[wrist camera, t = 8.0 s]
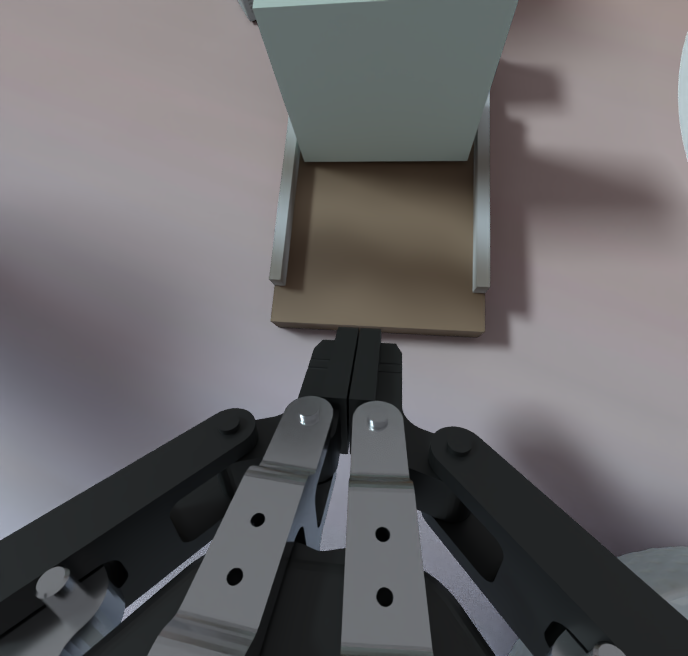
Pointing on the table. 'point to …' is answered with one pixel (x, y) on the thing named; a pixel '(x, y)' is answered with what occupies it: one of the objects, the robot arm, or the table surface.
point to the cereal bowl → (652, 579)
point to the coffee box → (247, 8)
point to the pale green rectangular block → (384, 74)
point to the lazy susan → (684, 95)
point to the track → (384, 243)
